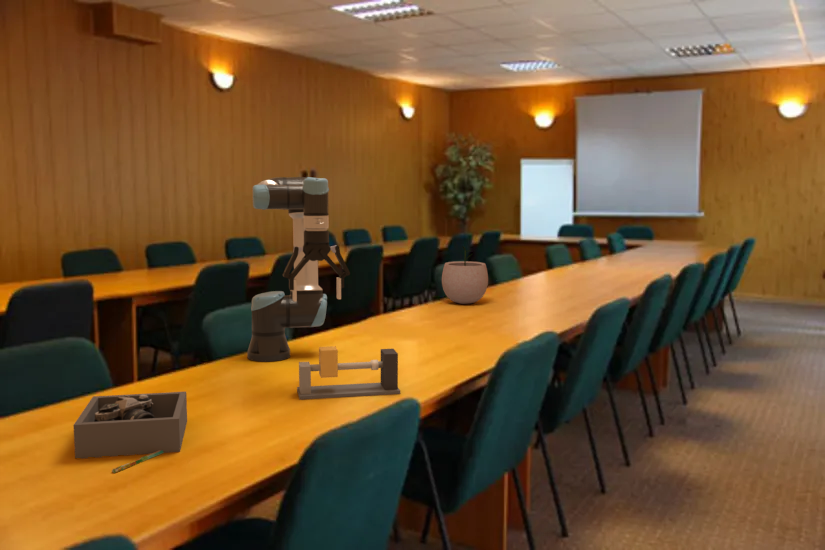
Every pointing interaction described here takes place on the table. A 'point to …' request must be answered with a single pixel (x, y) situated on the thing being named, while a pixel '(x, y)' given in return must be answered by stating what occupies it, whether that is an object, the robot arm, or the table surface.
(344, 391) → the rail
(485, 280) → the plant pot
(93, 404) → the open storage box
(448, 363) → the table surface
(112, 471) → the pencil
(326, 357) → the sleeve
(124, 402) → the camera
